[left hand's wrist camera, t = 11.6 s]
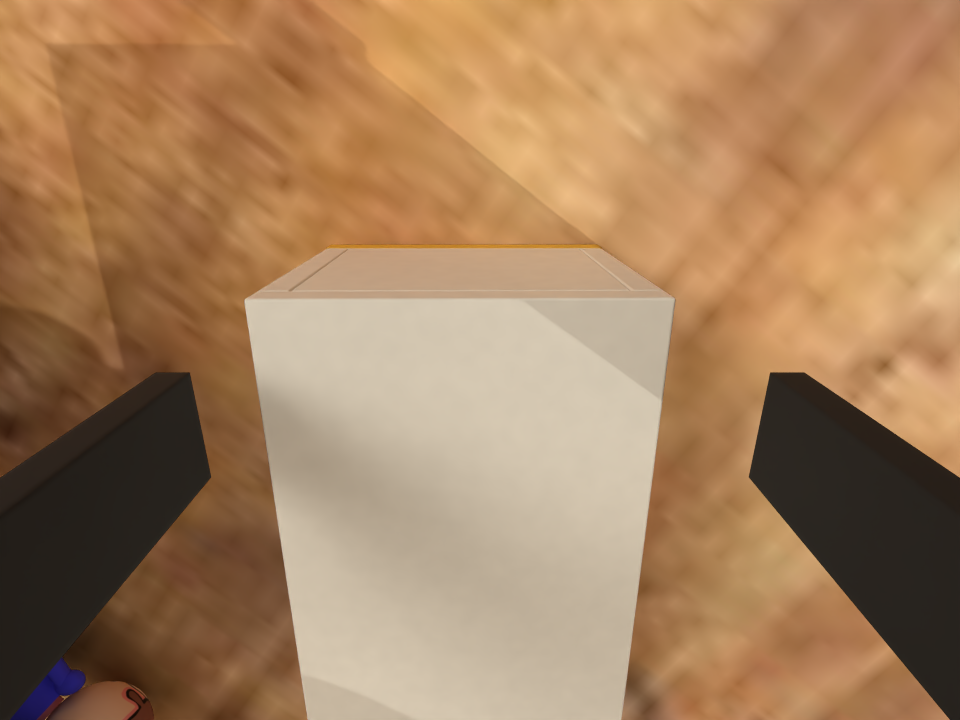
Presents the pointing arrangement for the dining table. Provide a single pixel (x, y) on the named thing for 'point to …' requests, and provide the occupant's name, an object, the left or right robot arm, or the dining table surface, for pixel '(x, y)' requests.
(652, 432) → the cabinet
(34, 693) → the figurine character
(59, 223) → the dining table surface
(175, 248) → the dining table surface
